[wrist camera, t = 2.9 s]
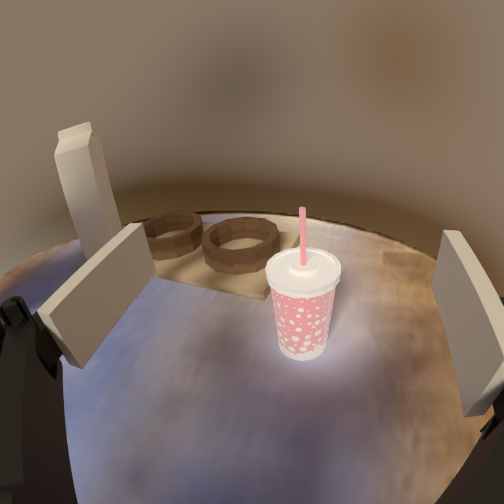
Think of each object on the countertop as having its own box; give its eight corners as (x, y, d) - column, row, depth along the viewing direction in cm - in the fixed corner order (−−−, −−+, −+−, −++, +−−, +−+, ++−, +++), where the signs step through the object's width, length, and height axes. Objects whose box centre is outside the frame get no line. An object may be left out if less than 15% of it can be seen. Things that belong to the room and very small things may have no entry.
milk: (97, 246, 52) (64, 129, 41) (126, 241, 52) (96, 118, 41) (87, 264, 47) (48, 135, 35) (119, 258, 47) (83, 123, 36)
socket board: (118, 267, 45) (110, 243, 43) (170, 225, 56) (165, 204, 53) (264, 300, 36) (261, 269, 33) (299, 241, 46) (299, 215, 44)
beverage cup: (299, 313, 33) (296, 188, 26) (345, 338, 29) (359, 205, 22) (258, 345, 30) (242, 212, 23) (306, 377, 26) (310, 236, 18)
